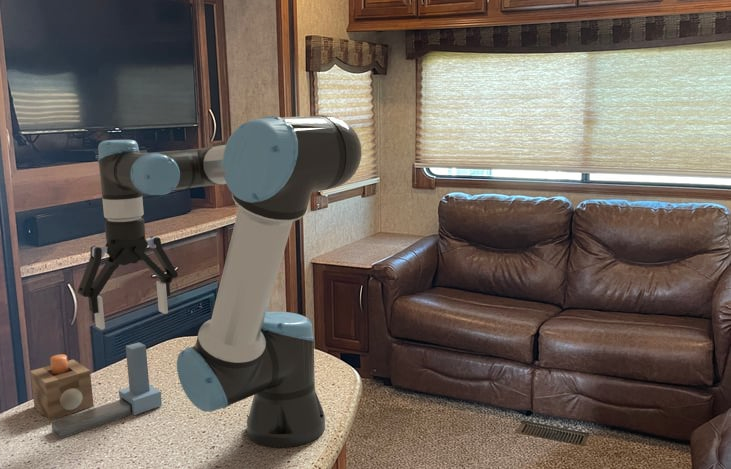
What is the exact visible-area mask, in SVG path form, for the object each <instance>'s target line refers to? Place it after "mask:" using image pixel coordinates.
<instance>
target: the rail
mask: <svg viewBox="0 0 731 469" xmlns="http://www.w3.org/2000/svg"><path fill="white" fill-rule="evenodd" d="M130 415H134V414H133V412H132V404H131V403H129V402H128V401H126V400H125V399H122V400H120V399H119V400H116V401H113V402H112V401H111V402H109V403H106V404H104V405H99V406H97V407H94V408H92V409H88V410H85V411H82V412H79V413H76V414H72V415H69V416H67V417H64V418H59V419H58V420H54V421H52V422H51V431H52V433H53V434H54V435H56V437H58V438H59V439H60V440H61V439H63V438H66V437H69V436H72V435H75V434H78V433H81V432H83V431H87V430H90V429H93V428H96V427H98V426H101V425H104V424H106V423H107V424H108V423H110V422H112V421H116V420H119V419H122V418H124V417H128V416H130Z"/></svg>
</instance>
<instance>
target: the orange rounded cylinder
mask: <svg viewBox="0 0 731 469" xmlns="http://www.w3.org/2000/svg"><path fill="white" fill-rule="evenodd" d="M49 360H50V365H51V370H52V374H54V375H59V374H63V373H66V372H68V362H67V361H68V356H67V355H66V354H54V355H52V356H51V357H49Z"/></svg>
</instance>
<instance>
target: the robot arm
mask: <svg viewBox="0 0 731 469" xmlns="http://www.w3.org/2000/svg"><path fill="white" fill-rule="evenodd" d="M97 147H98V148H97V150H98V159H97V162H98V167H99V168H98V169H99V177H100V186H101V187H100V188H101V194H102V195H101V196H102V208H103V217H104V218H105V221H104V232H105V240H106V244H105V246H96V245H92V246H91V247H90V257H89V260H88V262H87V266H86V268H85V271H84V274H83V276H82V279H81V280H80V284H79V287H78V289H77V294H78V295H80V296H82V297H83V298H88V307H89V312H90V313H91V314H92V315H93V314H94V321H95V322H94V324H95V327H96V328H98V329H100V330H105V329H106V325H105V323H106V322H105V313H104V301H103V296H101V295H100V293H101V292H102V290H103V289H104V287H105V286H106V284H107V283H108V282H109V280H110V278H111V277H112V275H113V274H114V272H115V270H117V269H118V268H119V267H120V266H127V265H129V264H138V263H139V262H140V263H142V264H143V265H144V266H145V267H146V268H147V269H148V270H149V271H150V272H151V273H153V275H154V276H156V277H157V278H158V279H159V280H157V281H156V292H157V293H156V295H157V306H158V312H160V313H162V314H165V315H167V314H169V308H168V297H170V296H171V286H170V284H172V282H173V279H174V278H177V277H178V276H179V275H178V272H177V270H176V269H175V267H174V265H173V264H172V262H171V260H170V259H169V257H168V255H167V253H166V252H165V250H164V249H163V245H162V240H161V238H160V237H157V236H154V235H151V236H150V238H147V239H146V227H145V226H146V224H145V219H144V218H143V216H144V214H145V213H144V205H143V204H144V202H143V201H144V200H143V194H145V195H148V196H163V195H164V196H165V195H168V194H170V193H172V191H177V190H185V189H192V188H199V187H209V186H210V187H211V186H220V185H226V186H227V188H228V189H229V191H230V192H231V198H232V199H233V201H234V203H235V205H236V206H237V207H238V210H237V214H236V218H235V221H234V226H233V230H232V234H231V238H230V242H229V246H228V249H227V250H228V251H227V253H226V258H225V262H224V267H223V271H222V273H221V279H220V283H219V286H218V291H217V295H216V297H215V298H216V299H215V302H214V306H213V310H212V314H211V319H208V320H207V321H204V323H203V324H202V325H201V326H200V328H199V329H198V334H197V338H196V341H195V344H194V345H193V346H188V347H186V348H185V349H183V350H181V351H180V352H179V354H178V356H177V359H176V370H177V376H178V379H179V382H180V385H181V387H182V389H183V392H184V394H185V395H186V397H187V398H188V400H189V401H190V403H192V405H193V406H195V407H196V408H197V409H198V410H201V411H202V412H205V413H207V412H209V413H212V412H215V411H217V410H221V409H226V408H228V407H230V406H231V405H233V404H236V403H238V402H239V403H240V401H243V400H245V399H248V398H250V397H252V396H253V399H252V401H251V405H250V410H249V414H248V416H247V420H246V433H247V436H248V437H249V439H250V440H251V441H253V442H254V443H256V444H258V445H261V446H265V447H270V448H291V447H297V446H302V445H305V444H308V443H311V442H313V441H314V440H316V439H318V438H320V436H321V435H323V433H324V431H325V429H326V416H325V413H324V410H323V407H322V404H321V402H320V399H319V397H318V394H317V390H316V384H315V382H316V381H315V345H314V343H315V342H314V341H315V337H314V332H313V330H314V329H313V325H312V322H311V320H310V319H309V318H308V317H306V316H304V315H302V314H299V313H294V312H288V311H268V308H269V305H270V301H271V298H272V294H273V291H274V287H275V284H276V280H277V277H278V275H279V270H280V267H281V263H282V261H283V260H282V259H283V257H284V252H285V250H286V246H287V243H288V240H289V236H290V232H291V229H292V225H293V222H295V221H298V220H300V219H302V218H303V217H304V216H305V215H306V213H307V210H308V206H309V203H310V200H311V197H312V194H313V193H315V192H320V191H321V192H322V191H326V190H331V189H336V188H337V187H341V186H342V185H344V184H345V183H347V182H348V181H349V180H350V179H352V178H353V177H354V175H356V172H357V171H358V169H359V166H360V164H361V161H362V153H363V152H362V145H361V140H360V137H359V136H358V134H357V133H356V131H355V129H354V128H353V127H352V125H351V124H349V123H347V122H346V121H345V120H343V119H341V118H339V117H337V116H333V115H328V114H327V115H325V114H320V115H319V114H317V115H307V116H306V115H305V116H285V117H283V116H282V117H279V116H266V117H265V116H264V117H262V118H259V119H258V118H257V119H251V120H247V121H245V122H244V123H242V124H240V125H239V126H238V127H237V128H235V130H234V131H233V132H232V133H231V134H230V136H229V138H228V140H227V142H226V144H223V145H216V146H208V147H202V148H191V149H181V150H169V151H168V150H167V151H158V152H157V151H156V152H141V151H140V149H139V148H140V147H139V144H138V142H137V141H136V140H133V139H110V140H103V141H101V142H100V143H99V144H98V146H97ZM148 247H149V248H150V249H151V250H152V251H153V253H154V256H155V257H156V258H157V260H158V262H159V263H160V264H161V266H162V268H163V270H162V269H161V268H160V267H159V266H158V265H157V264H156V263H155V262H154V261H153V260H152V259H151V258H150V257H149V256H148V255H147V254H146V253H145V251H146V250H147V248H148ZM106 254H107V255H108V257H107V258H106V261H105V262H104V266H103V267H102V268H101V270H100V271H99V273H98V270H99V267H100V265H101V262H102V258H104V257H105V255H106ZM97 273H98V275H97Z"/></svg>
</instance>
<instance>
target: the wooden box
mask: <svg viewBox="0 0 731 469" xmlns="http://www.w3.org/2000/svg"><path fill="white" fill-rule="evenodd" d="M67 362H68V372H66V373H63V374H59V375H54V374H52V370H51V364H50V365H47V366H43V367H39V368H36V369H31V370H29V373H30V374H29V375H30V381H31V388H32V390H31V391H32V396H33V397H32V398H33V405H34V408H36V409H37V410H38V411H39V412H40V413H41V414H42V415H44V416H45V417H46V418H47V419H48V420H50V421H51V420H55V419H58V418H60V417H64V416H67V415H70V414H73V413H77V412H79V411H82V410H85V409H88V408H89V409H90V408H92V407H94V406H95V404H94V396H93V388H92V378H91V377H92V376H91V375H92V374H91V370H90V369H89V368H87V367H86V366H84V365H82V364H81V363H80V362H78V361H76V360H75V359H69V360H67Z"/></svg>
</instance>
